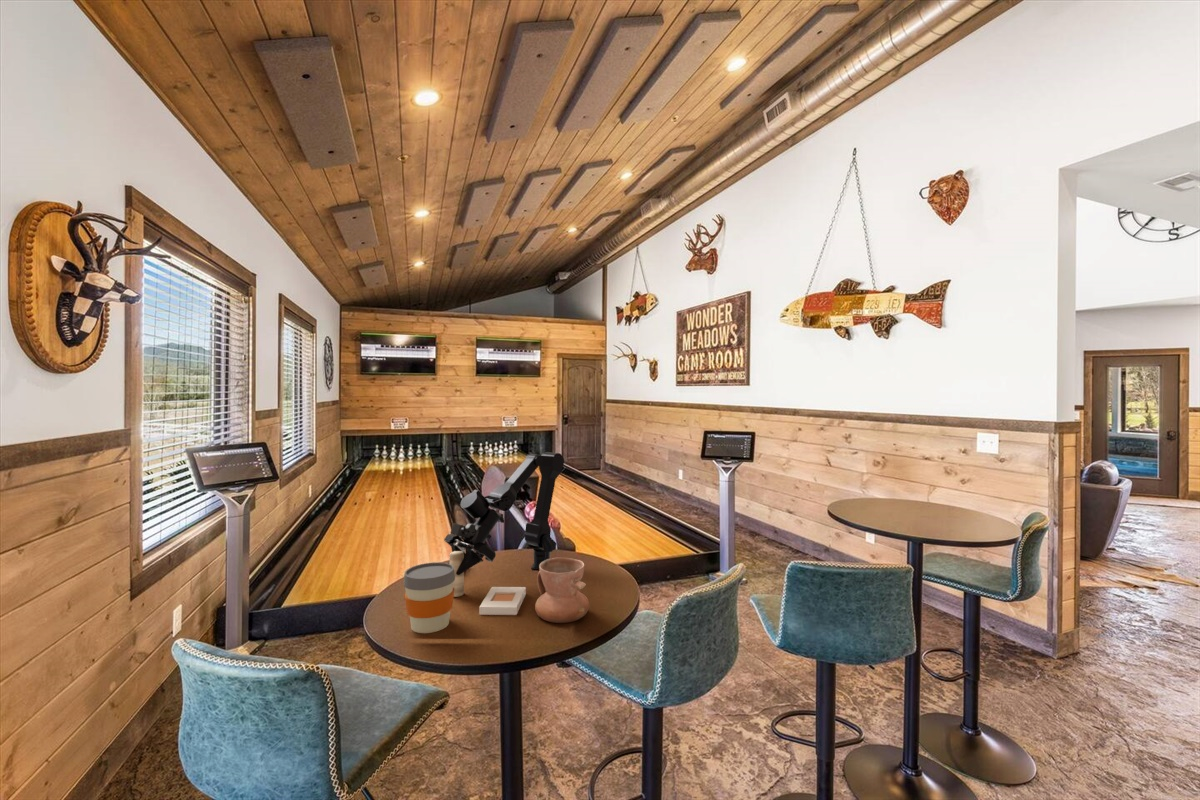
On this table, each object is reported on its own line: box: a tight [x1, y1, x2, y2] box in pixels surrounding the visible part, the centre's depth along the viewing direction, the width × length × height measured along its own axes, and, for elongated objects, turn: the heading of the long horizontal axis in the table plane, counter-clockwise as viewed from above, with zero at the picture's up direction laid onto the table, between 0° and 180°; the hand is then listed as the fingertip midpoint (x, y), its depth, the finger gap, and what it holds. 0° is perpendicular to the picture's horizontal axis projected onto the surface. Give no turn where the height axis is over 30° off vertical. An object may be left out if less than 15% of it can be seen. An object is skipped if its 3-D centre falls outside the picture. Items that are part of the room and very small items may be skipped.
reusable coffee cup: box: [403, 561, 455, 634], centre depth 131 cm, size 13×13×15 cm
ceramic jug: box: [534, 557, 590, 624], centre depth 138 cm, size 18×14×14 cm
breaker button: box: [493, 595, 515, 601], centre depth 144 cm, size 5×5×2 cm
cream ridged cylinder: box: [448, 551, 465, 598], centre depth 150 cm, size 4×4×12 cm
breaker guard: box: [478, 586, 527, 616], centre depth 144 cm, size 14×10×3 cm
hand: (452, 572), depth 149 cm, fingers closed on cream ridged cylinder, 4 cm apart
